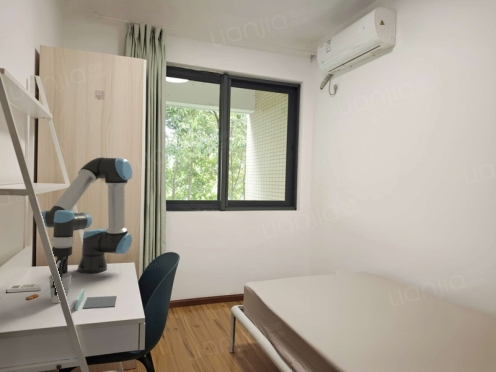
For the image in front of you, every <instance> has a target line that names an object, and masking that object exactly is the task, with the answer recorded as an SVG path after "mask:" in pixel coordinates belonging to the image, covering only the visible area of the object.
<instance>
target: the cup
mask: <svg viewBox="0 0 496 372" xmlns="http://www.w3.org/2000/svg"><path fill="white" fill-rule="evenodd" d="M52 275H53V274H51V275H49V290H50V295H51V296H50V297H51V298H52V300H53V288H51V286H52V285H53V278H52ZM61 281H62V284H63V287H64V290H65V293H66V296H67V297H68V295H69V291H70V288H71V281H72V274H71V273H69V272H68V273H65V274H62V280H61Z"/></svg>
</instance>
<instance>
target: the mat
mask: <svg viewBox="0 0 496 372" xmlns="http://www.w3.org/2000/svg"><path fill="white" fill-rule="evenodd" d="M117 296H118V295H109V296H90V297H89V296H88V297H86V299H85V301H84V303H83V306H82V309H83V310H84V309H85V310H86V309H99V308H100V309H102V308H103V309H104V308H115V307H116V301H117Z"/></svg>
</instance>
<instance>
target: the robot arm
mask: <svg viewBox="0 0 496 372" xmlns="http://www.w3.org/2000/svg"><path fill="white" fill-rule="evenodd" d="M132 175H133V170H132V165H131V163H130V162H129V161H128V159H126V158H119V157H103V156H102V157H96V158H94V159H92V160H90V161H88V162H86V163H85V164H84V165H83V166H82V167H81V168H80V169H79V170H78V172H77V176H76V177H75V178H74V179H73V181H72V182H71V184H70V185H69V186H68V187H67V189H66V190H65V191H64V192H63V193H62V195H60V197H59V198H58V200H57V201H56V202H55V203H54V205H53V206H52V207H51V208H50V209H49V210H43V211H41V212H40V213H42V216H43V219H44V223H45V226H46V227H45V228H49V229H50V228H53V235H52V238H51V241H52V249H51V252H52V251H53V254H54V256H53V257H56V260H55V261H56V264H57V268H58V271H59V274H60V277H61V280H62V274H65V273H68V274H69V272H68V271H69V270H68V265H69V263H68V262H69V256H70V257H71V255H73V243H74V231H80V230H85V229H88V228H89V227H90V226H91V225H92V222H93V218H92V216H91V215H90V213H88V212H80V213H79V212H75V211H74V210H73V208H75V206H76V204H77V203H78V202H79V200H81V197H82V196H84V194H85V193H86V191H87V190H88V189H89V187H90V186H91V185H92V184H94V183H95V182H96V181H97V180H101V179H104V183H105V184H106V185H107V198H108V199H107V204H108V205H107V206H108V207H107V209H108V211H107V213H108V214H107V216H108V217H107V219H108V228H107V229H106V228H96V229H88V230H85V231H84V232H83V235H82V248H81V252H82V253H81V258H80V261H79V263H78V266H77V272H79V273H83V274H96V273H97V274H98V273H102V272H106V271H107V269H108V264H107V259H106V257H105V253H106V254H115V255H124V254H126V253H128V251H129V250H130V248H131V245H132V241H133V237H132V234H131V233H129V232H128V231H129V230H128V228H127V227H126V221H125V220H126V211H125V209H126V208H125V207H126V206H125V205H126V204H125V203H126V199H125V197H126V195H125V194H126V191H125V188H126V187H125V186H126V185H127V184H128V183H129V180H130V179H131V178H132ZM51 288H53V299H52V304H58V303H59V299H58V296H57V292H56V288H55V285H54V281H53V285H52V286H51ZM59 304H60V303H59Z"/></svg>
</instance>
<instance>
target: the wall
mask: <svg viewBox="0 0 496 372" xmlns="http://www.w3.org/2000/svg"><path fill="white" fill-rule="evenodd" d="M84 299H85V288H81V289H80V292H79V293H78V295H77V298H76V299H75V307H74V309H75V311H79V309H80V306H81V304H82V302H83V300H84Z"/></svg>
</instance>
